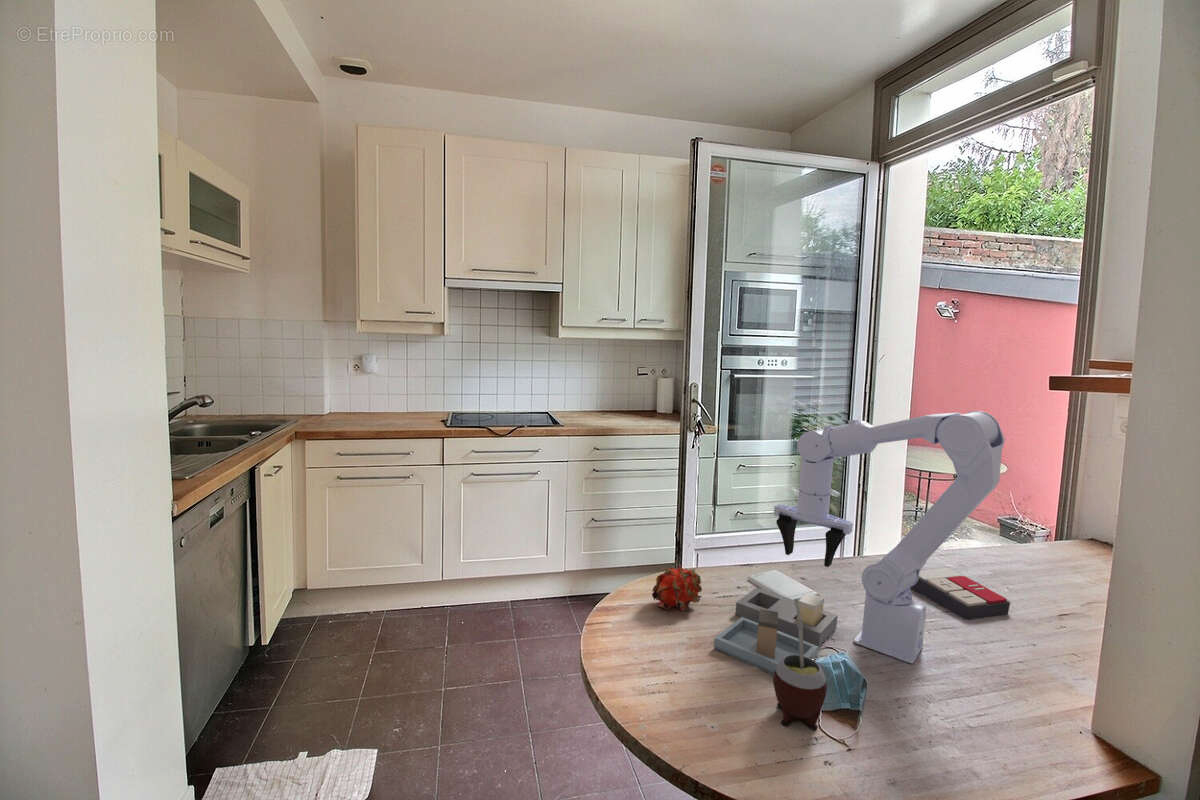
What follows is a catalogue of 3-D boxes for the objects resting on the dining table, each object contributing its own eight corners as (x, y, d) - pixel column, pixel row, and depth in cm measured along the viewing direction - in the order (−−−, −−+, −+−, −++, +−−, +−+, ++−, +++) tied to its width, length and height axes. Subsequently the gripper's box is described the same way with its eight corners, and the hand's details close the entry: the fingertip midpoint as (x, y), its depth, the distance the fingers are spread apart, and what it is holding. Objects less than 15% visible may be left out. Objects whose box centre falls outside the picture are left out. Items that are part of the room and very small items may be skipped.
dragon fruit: (703, 607, 116) (656, 630, 109) (679, 572, 120) (633, 592, 114) (719, 586, 110) (671, 609, 104) (694, 550, 115) (646, 570, 108)
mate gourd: (803, 742, 76) (813, 636, 74) (755, 709, 82) (763, 610, 81) (835, 721, 81) (845, 620, 79) (787, 691, 87) (795, 597, 85)
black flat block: (969, 604, 111) (908, 568, 125) (965, 624, 111) (905, 587, 126) (1012, 599, 114) (948, 564, 128) (1008, 618, 115) (945, 582, 129)
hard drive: (748, 575, 126) (790, 599, 115) (776, 569, 129) (819, 592, 118) (747, 582, 126) (789, 607, 115) (775, 576, 129) (819, 600, 118)
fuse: (821, 628, 106) (824, 597, 105) (812, 637, 103) (815, 606, 102) (805, 622, 108) (807, 592, 107) (795, 631, 104) (798, 600, 104)
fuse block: (836, 627, 106) (837, 615, 106) (818, 646, 100) (820, 633, 99) (756, 598, 117) (757, 587, 116) (735, 614, 110) (736, 602, 110)
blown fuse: (775, 645, 99) (778, 612, 98) (774, 658, 94) (777, 624, 94) (757, 641, 100) (760, 608, 99) (756, 655, 95) (758, 621, 95)
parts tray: (817, 657, 96) (818, 646, 96) (793, 683, 89) (794, 671, 88) (741, 627, 105) (741, 616, 105) (713, 648, 98) (714, 637, 97)
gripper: (860, 496, 108) (853, 564, 110) (786, 480, 117) (780, 543, 119) (848, 503, 103) (841, 575, 105) (771, 486, 112) (766, 552, 114)
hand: (808, 559), depth 112 cm, fingers open, 7 cm apart
